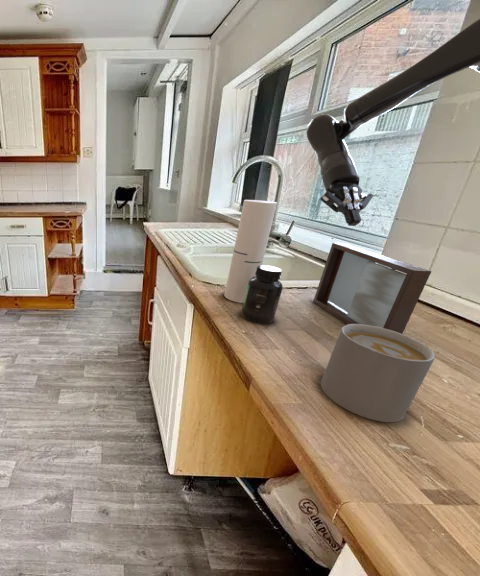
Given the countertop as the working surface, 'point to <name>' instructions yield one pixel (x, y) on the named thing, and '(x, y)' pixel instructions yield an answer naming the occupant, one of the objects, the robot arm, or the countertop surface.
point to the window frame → (375, 290)
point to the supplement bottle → (262, 295)
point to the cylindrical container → (249, 246)
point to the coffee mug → (375, 371)
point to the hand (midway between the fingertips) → (354, 224)
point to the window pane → (346, 280)
